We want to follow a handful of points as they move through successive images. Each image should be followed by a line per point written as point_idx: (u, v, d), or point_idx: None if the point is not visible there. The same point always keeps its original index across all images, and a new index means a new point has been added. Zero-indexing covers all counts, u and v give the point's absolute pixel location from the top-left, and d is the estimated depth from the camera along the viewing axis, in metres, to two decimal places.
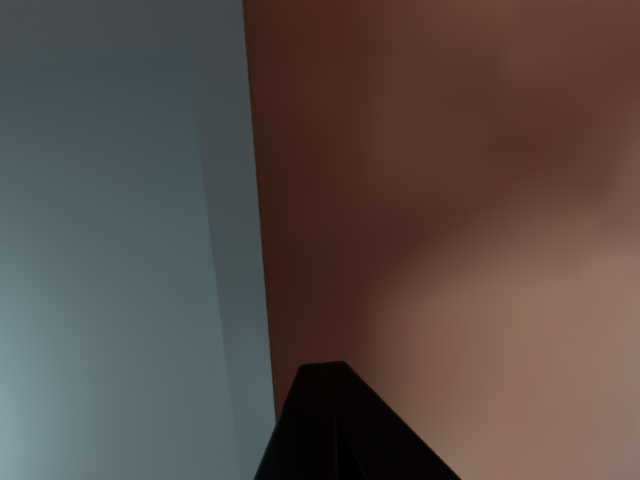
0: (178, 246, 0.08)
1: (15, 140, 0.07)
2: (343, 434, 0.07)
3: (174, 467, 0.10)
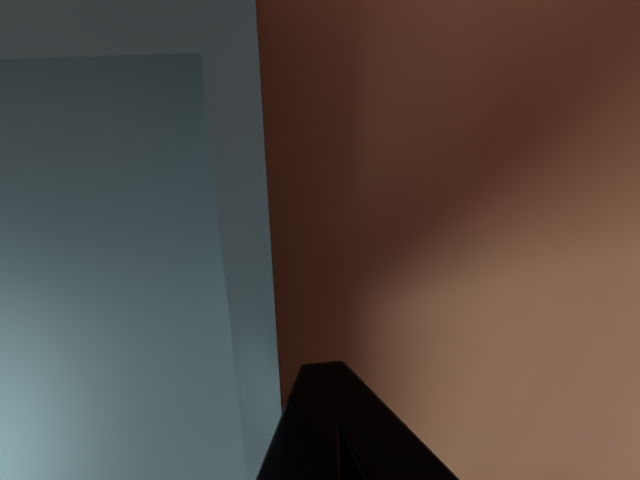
0: (185, 245, 0.08)
1: (24, 139, 0.07)
2: (341, 434, 0.07)
3: (178, 466, 0.10)
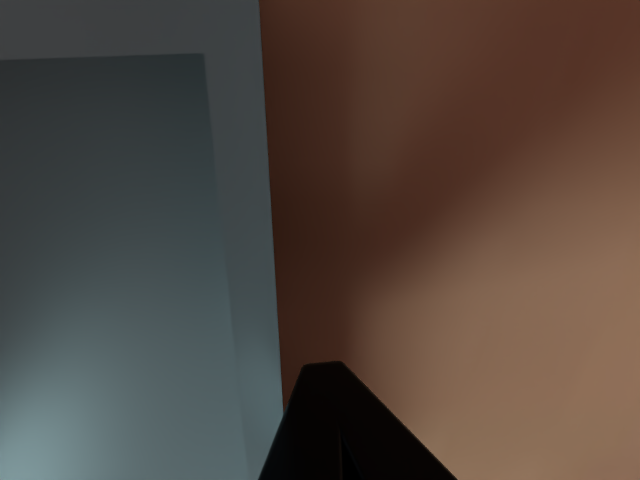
0: (187, 245, 0.08)
1: (26, 139, 0.07)
2: (340, 434, 0.07)
3: (179, 466, 0.10)
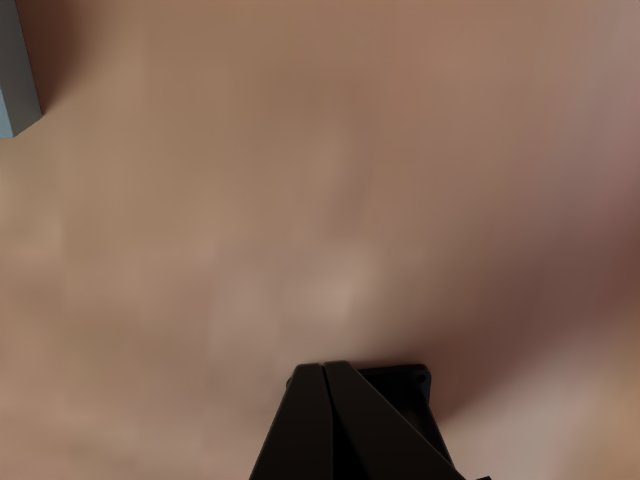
0: None
1: None
2: (347, 433, 0.07)
3: None
